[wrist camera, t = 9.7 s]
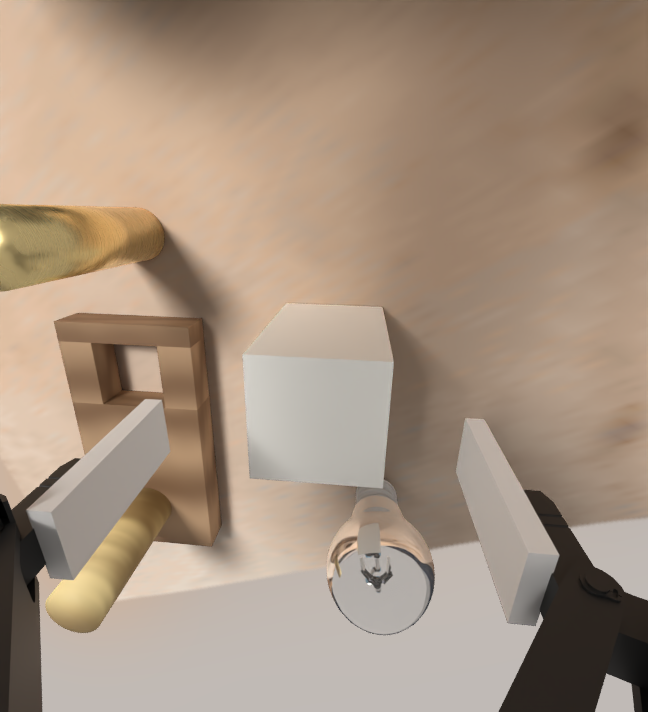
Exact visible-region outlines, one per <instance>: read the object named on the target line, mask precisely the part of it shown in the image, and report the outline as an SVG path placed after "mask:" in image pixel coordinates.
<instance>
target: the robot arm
mask: <svg viewBox="0 0 648 712" xmlns="http://www.w3.org/2000/svg"><path fill="white" fill-rule="evenodd" d="M169 453H170V446H169V440H168V434H167V428H166V422H165V416H164V410H163V404H162V400H155V399H145V400H144V401H143V402H141V403H140V404H139V405H138V406H137V407H136V408H135V409H134V410H133V411H132V412H131V413H130V414H129V415H127V416H126V417H125V418H124V419H123V420H122V421H121V422H120V423H119V424H118V425H117V426H116V427H115V428H114V429H112V430H111V431H110V432H109V433H108V434H107V435H106V436H105V437H104V438H103V439H102V440H101V441H100V442H99V443H97V444H96V445H95V446H94V447H93V448H92V449H91V450H90V451H89V452H88V453H87V454H86V455H85V456H83V457H82V458H81V459H79V458H75V459H73V460H71V461H69V462H68V463H66V464H64V465H62V466H60V467H59V468H58V469H57V470H56V471H55V472H54V473H52V474H51V475H50V476H49V478H48V479H46V480H45V481H43V482H42V483H41V484H40V486H39V487H37V488H36V489H35V490H33V491H32V492H31V493H30V494H29V495H28V496H27V497H26V498H24V499H23V500H22V501H21V502H20V503H19V504H18V505H17V506H16V507H14V508H13V509H12V510H11V508H10V505H9V503H8V500H7V498H6V496H4V495H2V494H0V712H42V683H41V645H40V609H39V582H38V580H37V577H36V575H37V574H38V573H39V571H40V570H41V569H42V568H43V567H44V565H46V567H47V570H48V573H49V576H50V578H54V579H64V580H74V579H75V578H76V576H77V575H78V574H79V572H80V571H81V570H82V568H83V567H84V566H85V564H86V563H87V562H88V560H89V559H90V558H91V556H92V555H93V554H94V552H95V551H96V550H97V548H98V547H99V546H100V544H101V543H102V542H103V540H104V539H105V538H106V536H107V535H108V534H109V532H110V531H111V530H112V528H113V527H114V526H115V524H116V523H117V522H118V520H119V519H120V518H121V516H122V515H123V514H124V513H125V511H126V510H127V509H128V507H129V506H130V505H131V503H132V502H133V501H134V499H135V498H136V497H137V495H138V494H139V493H140V491H141V490H142V489H143V487H144V486H145V485H146V483H147V482H148V481H149V479H150V478H151V477H152V475H153V474H154V473H155V471H156V470H157V469H158V467H159V466H160V465H161V463H162V462H163V461H164V459H165V458H166V457H167V455H168V454H169ZM456 474H457V477H458V480H459V483H460V485H461V488H462V491H463V494H464V497H465V500H466V503H467V506H468V509H469V512H470V515H471V518H472V521H473V523H474V526H475V529H476V532H477V535H478V538H479V541H480V544H481V547H482V549H483V553H484V556H485V558H486V561H487V564H488V567H489V570H490V573H491V576H492V579H493V582H494V585H495V588H496V590H497V593H498V596H499V599H500V602H501V605H502V608H503V611H504V614H505V617H506V620H507V623H511V624H522V625H531V626H536V623H537V620H538V617H539V614H540V612H541V615H542V617H543V619H544V620H543V622H542V624H541V626H540V628H539V630H538V632H537V634H536V636H535V638H534V640H533V642H532V644H531V646H530V648H529V651H528V653H527V654H526V657H525V659H524V661H523V663H522V665H521V667H520V669H519V671H518V673H517V675H516V678H515V679H514V682H513V683H512V685H511V687H510V690H509V691H508V694H507V696H506V698H505V700H504V702H503V704H502V706H501V708H500V710H499V712H595V709H596V706H597V703H598V699H599V696H600V693H601V689H602V686H603V682H604V679H605V675H606V673H607V674H609V675H612V676H614V677H617V678H619V679H622V680H624V681H626V682H629V683H631V684H632V692H633V701H634V711H635V712H648V601H647V600H644V599H642V598H639V597H636V596H633V595H631V594H628V593H626V592H624V590H623V589H622V587H621V586H620V585H619V584H618V583H617V582H616V581H615V579H614V578H612V577H611V576H610V575H608V574H607V573H605V572H603V571H602V570H600V569H598V568H595V567H594V566H593V564H592V563H591V561H590V560H589V558H588V556H587V555H586V553H585V552H584V550H583V549H582V547H581V546H580V544H579V542H578V541H577V539H576V537H575V536H574V534H573V533H572V531H571V529H570V528H568V525H567V523H566V521H565V520H564V518H562V515H561V514H560V512H559V510H558V509H557V507H556V506H555V504H554V502H552V501H551V500H550V499H549V498H548V497H547V496H545V495H544V494H543V493H542V492H541V491H532V490H523V488H522V487H521V485H520V483H519V481H518V479H517V478H516V476H515V474H514V472H513V470H512V468H511V467H510V465H509V463H508V461H507V459H506V458H505V456H504V454H503V452H502V450H501V449H500V447H499V445H498V443H497V441H496V439H495V438H494V436H493V434H492V432H491V430H490V429H489V427H488V425H487V423H486V421H485V420H484V419H475V418H465V423H464V428H463V434H462V439H461V445H460V450H459V456H458V462H457V467H456Z"/></svg>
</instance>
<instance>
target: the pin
mask: <svg viewBox="0 0 648 712" xmlns="http://www.w3.org/2000/svg"><path fill="white" fill-rule="evenodd" d="M164 239H165V238H164V231H163V228H162V225H161V223H160V222H159V220H158V219H157V218H156V217H155V216H154V215H153V214H152V213H151V212H149V211H147V210H145V209H143V208H137V207H97V206H54V205H12V204H0V291H9V290H13V289H18V288H23V287H27V286H32V285H36V284H41V283H45V282H50V281H54V280H59V279H64V278H68V277H73V276H77V275H82V274H86V273H91V272H95V271H100V270H105V269H109V268H114V267H118V266H123V265H127V264H132V263H136V262H141V261H146V260H150V259H153V258H155V257H156V256H157V255H158V254H159V253H160V252H161V250H162V248H163V246H164Z"/></svg>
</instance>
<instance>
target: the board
mask: <svg viewBox="0 0 648 712" xmlns="http://www.w3.org/2000/svg"><path fill="white" fill-rule="evenodd" d="M54 324H55V329H56V333H57V337H58V341H59V346H60V350H61V354H62V359H63V363H64V367H65V371H66V376H67V380H68V384H69V389H70V393H71V397H72V402H73V406H74V410H75V414H76V419H77V423H78V427H79V432H80V436H81V440H82V444H83V449H84V453H85V455H86V454H87V453H88V452H89V451H90V450H91V449H92V448H93V447H94V446H95V445H96V444H97V443H99V442H100V441H101V440H102V439H103V438H104V437H105V436H106V435H107V434H108V433H109V432H110V431H111V430H112V429H114V428H115V427H116V426H117V425H118V424H119V423H120V422H121V421H122V420H123V419H124V418H125V417H126V416H127V415H129V414H130V413H131V412H132V411H133V410H134V409H135V408H136V407H137V406H138V405H139V404H140V403H141V402H143V401H144V400H145V399H155V400H162V404H163V410H164V416H165V422H166V428H167V434H168V440H169V446H170V453H169V454H168V455H167V457H166V458H165V459H164V461H163V462H162V463H161V465H160V466H159V467H158V469H157V470H156V471H155V473H154V474H153V475H152V477H151V478H150V479H149V481H148V482H147V483H146V485H145V486H144V487H143V489H142V490H141V491H140V493H139V494H138V495H137V497H136V498H135V499H134V501H133V502H132V503H131V505H130V506H129V507H128V509H127V510H126V511H125V513H124V514H123V515H122V516H121V518H120V519H119V520H118V522H117V523H116V524H115V526H114V527H113V528H112V530H111V531H110V532H109V534H108V535H107V536H106V538H105V539H104V540H103V542H102V543H101V544H100V546H99V547H98V548H97V550H96V551H95V552H94V554H93V555H92V556H91V558H90V559H89V560H88V562H87V563H86V564H85V566H84V567H83V568H82V570H81V571H80V572H79V574H78V575H77V576H76V578H75V579H74V580H64V579H63V580H62V581H61V582H60V584H59V585H58V586H57V587H56V589H55V590H54V591H53V592H52V593H51V595H50V596H49V597H48V599H47V600H46V610H47V613H48V614H49V616H50V617H51V618H52V620H53V621H55V622H56V623H57V624H58V625H60V626H61V627H63V628H65V629H67V630H70V631H73V632H78V633H88V632H92V631H94V630H96V629H97V628H98V627H99V626H100V624H101V622H102V621H103V619H104V618H105V616H106V614H107V613H108V612H109V610H110V608H111V607H112V605H113V604H114V602H115V601H116V599H117V597H118V596H119V594H120V593H121V591H122V590H123V588H124V586H125V585H126V583H127V582H128V580H129V579H130V577H131V575H132V574H133V572H134V571H135V569H136V568H137V566H138V564H139V563H140V561H141V560H142V558H143V557H144V555H145V553H146V552H147V550H148V549H149V547H150V546H151V544H152V543H153V541H158V542H169V543H180V544H190V545H201V546H212V545H213V543H214V541H215V538H216V536H217V534H218V532H219V530H220V527H221V514H220V504H219V493H218V482H217V472H216V461H215V451H214V440H213V429H212V419H211V408H210V398H209V387H208V376H207V366H206V355H205V345H204V334H203V323H202V318H180V317H157V316H134V315H111V314H88V313H76V314H74V315H71V316H68V317H65V318H62V319H59V320H57V321H54ZM114 344H123V345H143V346H157V352H158V359H159V367H160V374H161V381H162V388H163V393H158V392H141V391H124V390H122V388H121V382H120V377H119V371H118V366H117V360H116V355H115V349H114Z"/></svg>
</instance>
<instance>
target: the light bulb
mask: <svg viewBox="0 0 648 712" xmlns="http://www.w3.org/2000/svg"><path fill="white" fill-rule="evenodd" d="M326 568H327V581H328V585H329V589H330V592H331V595H332V597H333V599H334V601H335V603H336V605H337V607H338V608H339V610H340V611H341V612H342V614H343V615H344V616H345V617H346V618H347V619H348V620H349V621H350V622H351V623H352V624H354V625H355V626H357V627H359V628H360V629H362V630H364V631H366V632H369V633H372V634H377V635H391V634H396V633H399V632H401V631H404V630H406V629H407V628H409V627H411V626H412V625H414V624H415V623H416V622H417V621H418V620H419V618H421V616H422V615H423V614H424V612H425V611H426V609H427V607H428V605H429V603H430V600H431V597H432V594H433V589H434V581H435V580H434V579H435V577H434V576H435V574H434V564H433V560H432V556H431V553H430V550H429V548H428V546H427V544H426V542H425V540H424V539H423V537H422V535H421V534H420V533H419V532H418V530H417V529H416V528H415V527H414V526H413V525H412V524H411V523H410V522H408V521H407V520H406V519H405V518H404V517H403V514H402V512H401V510H400V508H399V506H398V503H397V494H396V491H395V489H394V487H393V486H392V485H391V483H389V482H388V481H387V480H385V479H384V481H383V489H382V488H369V487H357V489H356V506H355V507H354V509H353V512H352V516H351V518H350V519H349V520H348V521H347V522H345V523H344V524H343V526H342V527H341V528H340V529H339V530H338V532H337V533H336V535H335V537H334V539H333V541H332V543H331V545H330V547H329V552H328V557H327V563H326Z"/></svg>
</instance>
